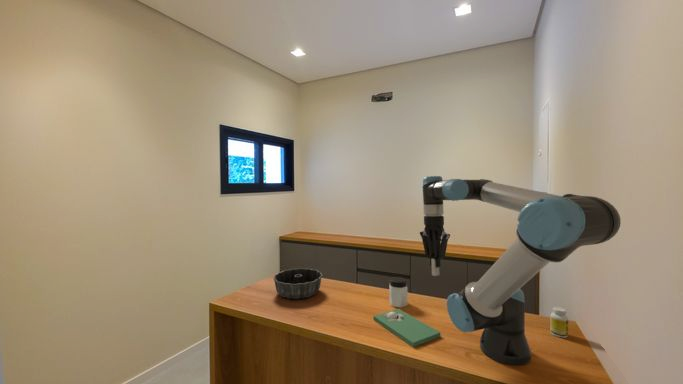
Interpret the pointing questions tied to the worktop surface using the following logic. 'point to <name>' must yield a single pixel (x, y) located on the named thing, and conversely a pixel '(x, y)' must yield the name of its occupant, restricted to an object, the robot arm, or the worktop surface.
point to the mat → (407, 327)
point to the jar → (398, 292)
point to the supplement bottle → (559, 322)
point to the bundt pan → (298, 283)
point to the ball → (392, 315)
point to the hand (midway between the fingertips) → (435, 275)
